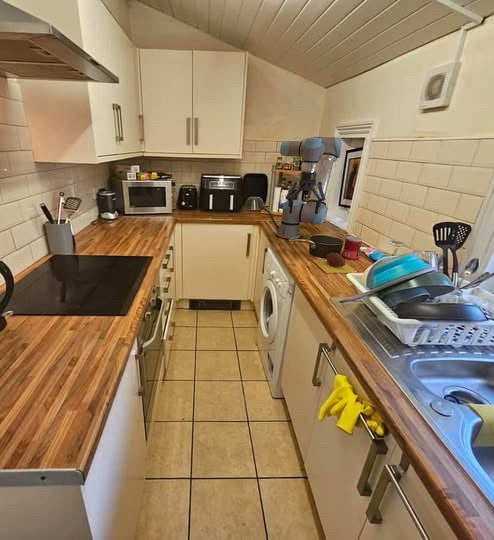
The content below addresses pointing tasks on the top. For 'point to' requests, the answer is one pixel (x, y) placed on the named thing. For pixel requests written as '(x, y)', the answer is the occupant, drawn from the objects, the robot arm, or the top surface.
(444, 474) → the top surface
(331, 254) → the potato
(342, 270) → the tea towel
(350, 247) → the canned food
